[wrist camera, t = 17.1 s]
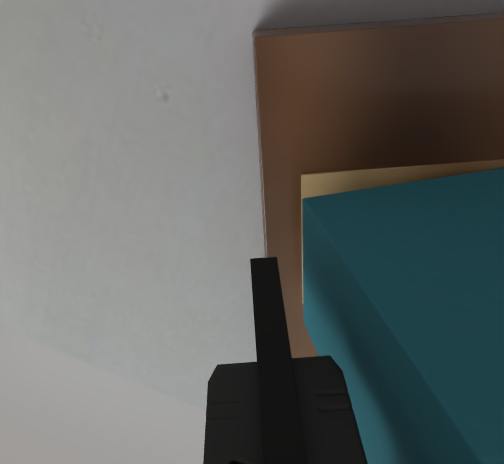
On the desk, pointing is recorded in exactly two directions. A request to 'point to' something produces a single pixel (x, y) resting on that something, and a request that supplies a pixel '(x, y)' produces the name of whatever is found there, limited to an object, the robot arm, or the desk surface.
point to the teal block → (413, 313)
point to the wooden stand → (369, 119)
